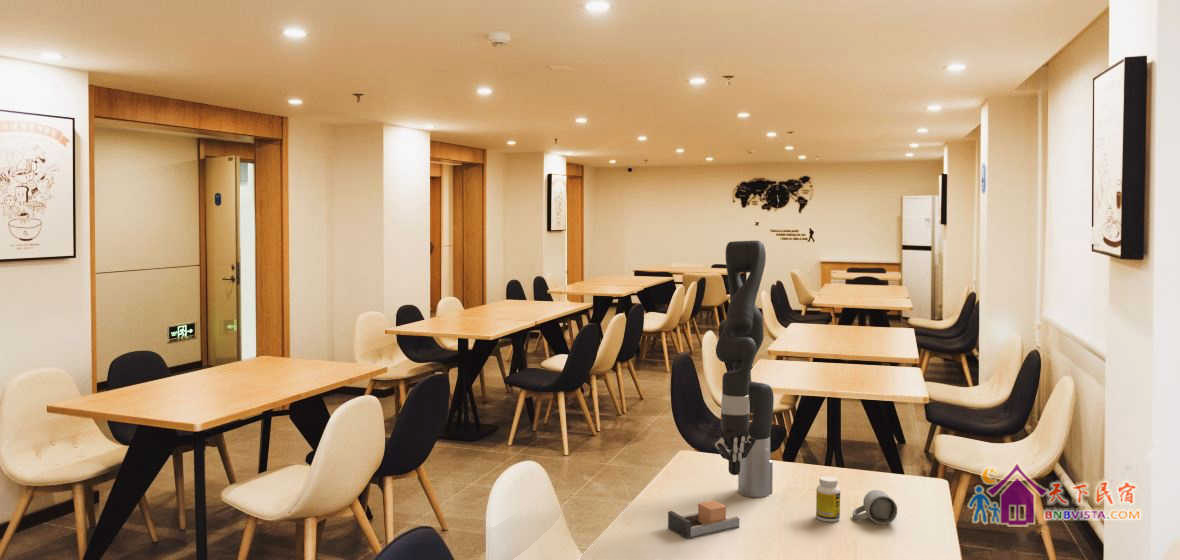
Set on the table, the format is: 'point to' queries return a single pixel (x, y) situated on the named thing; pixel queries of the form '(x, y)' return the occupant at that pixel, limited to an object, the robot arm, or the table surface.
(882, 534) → the table surface
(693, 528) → the chute
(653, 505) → the table surface
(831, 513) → the pill bottle
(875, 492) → the ceramic mug
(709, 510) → the block
